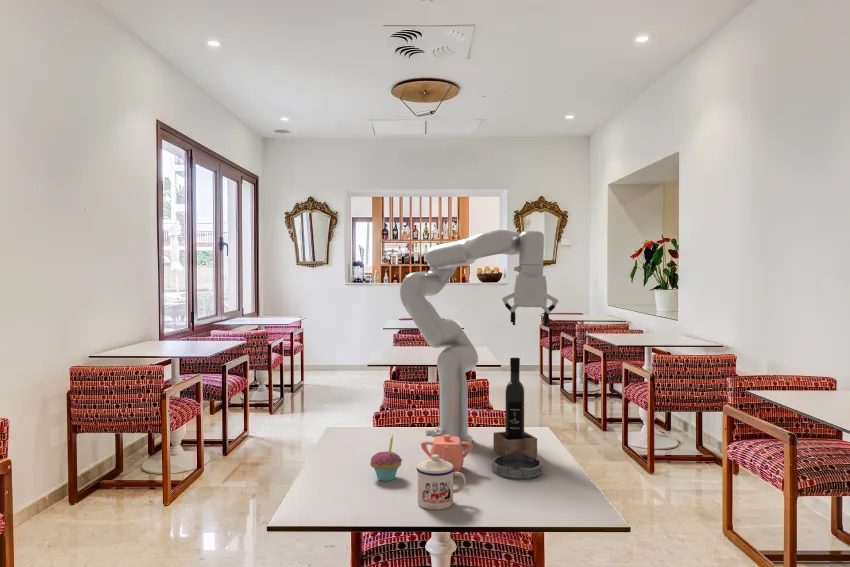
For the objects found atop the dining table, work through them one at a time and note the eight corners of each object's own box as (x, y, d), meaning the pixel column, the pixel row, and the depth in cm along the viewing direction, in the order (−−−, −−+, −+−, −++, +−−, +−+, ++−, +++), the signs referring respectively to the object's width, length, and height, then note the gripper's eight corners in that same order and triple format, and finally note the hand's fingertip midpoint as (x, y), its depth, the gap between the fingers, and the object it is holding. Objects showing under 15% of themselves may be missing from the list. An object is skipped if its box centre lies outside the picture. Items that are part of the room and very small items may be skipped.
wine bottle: (524, 458, 174) (524, 359, 174) (505, 457, 175) (505, 359, 175) (524, 452, 180) (524, 357, 180) (505, 451, 181) (506, 356, 181)
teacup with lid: (418, 511, 134) (418, 461, 134) (414, 497, 143) (414, 450, 143) (469, 509, 135) (469, 460, 135) (462, 494, 144) (462, 448, 144)
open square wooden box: (506, 461, 172) (506, 441, 171) (493, 451, 181) (493, 432, 181) (537, 458, 174) (537, 438, 174) (522, 448, 184) (522, 430, 184)
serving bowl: (504, 481, 154) (504, 472, 154) (484, 465, 167) (484, 456, 167) (551, 476, 158) (551, 467, 158) (528, 461, 171) (528, 452, 171)
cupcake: (406, 474, 159) (406, 431, 159) (394, 485, 151) (394, 439, 151) (377, 471, 162) (377, 429, 162) (364, 481, 154) (364, 436, 154)
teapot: (415, 467, 165) (415, 432, 165) (447, 460, 172) (447, 426, 172) (445, 482, 154) (445, 444, 154) (479, 473, 161) (479, 437, 161)
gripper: (503, 270, 177) (501, 325, 177) (560, 271, 175) (558, 327, 175) (502, 270, 184) (501, 323, 185) (557, 271, 182) (555, 325, 183)
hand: (529, 325), depth 180 cm, fingers open, 9 cm apart
